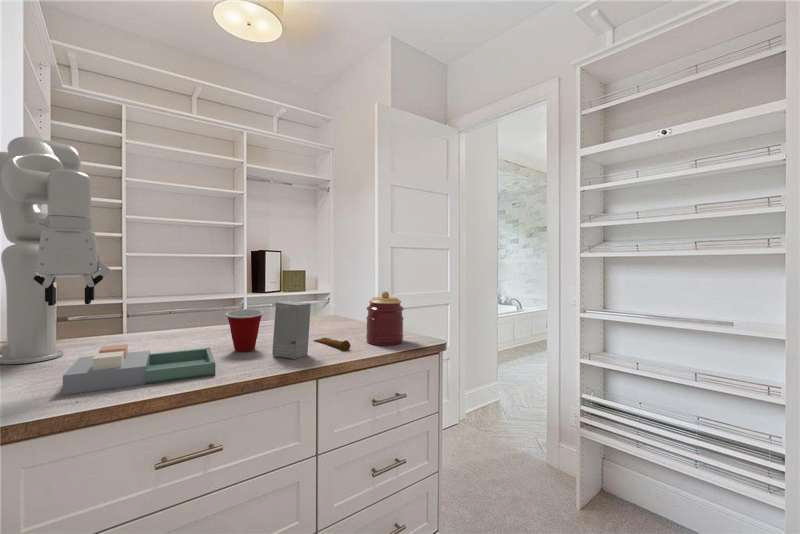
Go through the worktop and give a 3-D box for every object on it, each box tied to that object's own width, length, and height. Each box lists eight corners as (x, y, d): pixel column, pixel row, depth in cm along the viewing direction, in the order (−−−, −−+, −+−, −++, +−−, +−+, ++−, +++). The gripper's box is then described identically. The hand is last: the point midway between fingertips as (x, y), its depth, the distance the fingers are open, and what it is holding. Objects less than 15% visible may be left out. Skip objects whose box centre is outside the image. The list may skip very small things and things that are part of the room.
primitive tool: (312, 341, 129) (312, 331, 129) (326, 339, 132) (326, 330, 132) (341, 353, 114) (341, 341, 114) (356, 350, 118) (356, 339, 117)
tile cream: (92, 370, 79) (92, 358, 79) (96, 364, 83) (96, 353, 83) (121, 367, 82) (121, 355, 82) (124, 361, 86) (124, 351, 86)
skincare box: (271, 356, 107) (272, 302, 107) (288, 351, 114) (288, 299, 113) (295, 360, 104) (296, 304, 103) (310, 354, 110) (311, 301, 110)
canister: (410, 341, 129) (411, 291, 129) (385, 348, 119) (386, 293, 119) (384, 336, 138) (384, 289, 137) (358, 341, 128) (358, 291, 128)
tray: (145, 384, 82) (145, 371, 82) (150, 365, 97) (150, 353, 97) (215, 374, 90) (215, 362, 90) (209, 358, 104) (209, 347, 104)
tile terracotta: (99, 361, 86) (99, 350, 86) (102, 356, 90) (102, 346, 90) (125, 358, 89) (125, 348, 88) (128, 353, 93) (128, 344, 93)
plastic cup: (223, 355, 107) (223, 314, 107) (227, 347, 117) (227, 309, 117) (262, 353, 111) (263, 313, 110) (263, 345, 121) (264, 308, 121)
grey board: (62, 394, 76) (62, 375, 75) (80, 373, 89) (80, 357, 89) (145, 383, 83) (145, 366, 83) (149, 365, 96) (149, 350, 96)
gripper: (11, 222, 77) (11, 308, 77) (114, 226, 86) (115, 304, 86) (23, 224, 83) (24, 304, 84) (119, 228, 92) (119, 300, 93)
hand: (70, 303), depth 85 cm, fingers open, 5 cm apart
